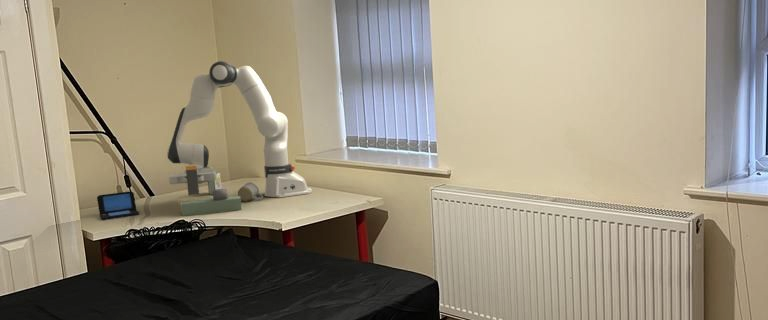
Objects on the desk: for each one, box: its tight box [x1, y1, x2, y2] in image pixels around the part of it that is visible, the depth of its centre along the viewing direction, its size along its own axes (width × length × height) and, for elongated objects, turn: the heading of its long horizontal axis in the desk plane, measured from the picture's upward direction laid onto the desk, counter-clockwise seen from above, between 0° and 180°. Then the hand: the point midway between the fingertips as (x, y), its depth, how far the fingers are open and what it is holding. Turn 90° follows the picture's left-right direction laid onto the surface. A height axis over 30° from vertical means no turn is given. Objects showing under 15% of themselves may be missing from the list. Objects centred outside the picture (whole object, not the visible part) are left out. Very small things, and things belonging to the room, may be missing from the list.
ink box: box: [207, 165, 222, 196], centre depth 352 cm, size 7×4×13 cm, turn 168°
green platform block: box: [180, 188, 243, 217], centre depth 313 cm, size 25×12×9 cm, turn 103°
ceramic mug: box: [237, 182, 264, 202], centre depth 329 cm, size 11×8×8 cm
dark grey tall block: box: [185, 164, 200, 196], centre depth 313 cm, size 4×6×13 cm
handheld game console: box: [96, 191, 140, 221], centre depth 315 cm, size 16×13×9 cm
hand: (192, 180), depth 312 cm, fingers closed on dark grey tall block, 4 cm apart
